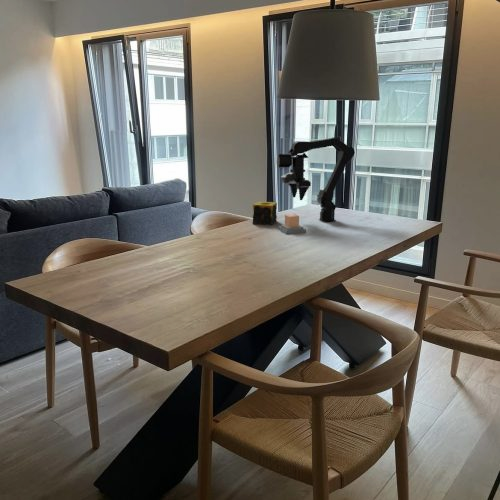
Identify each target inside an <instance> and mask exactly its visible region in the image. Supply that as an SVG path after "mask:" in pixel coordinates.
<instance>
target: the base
mask: <svg viewBox="0 0 500 500" xmlns="http://www.w3.org/2000/svg"><path fill="white" fill-rule="evenodd" d="M277 229H278V231H280V232H282V233H283V234H285V235H292V234H293V235H294V234H306V233H307V229H306V228H304V226H302V225H300V224H299V227H287V226H286V225H285V223H284V224H280V225H279V226H277Z"/></svg>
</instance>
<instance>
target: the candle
mask: <svg viewBox="0 0 500 500" xmlns="http://www.w3.org/2000/svg"><path fill="white" fill-rule="evenodd" d="M277 206H278V203H277V202H275V201H274V202H272V201H257V202H255V203H253V204H252V210H253V214H252V225H264V226H272V225H274V224H275V223H276V222H277V217H278V216H277V209H278V208H277Z"/></svg>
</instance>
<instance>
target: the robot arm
mask: <svg viewBox="0 0 500 500" xmlns="http://www.w3.org/2000/svg"><path fill="white" fill-rule="evenodd" d="M328 147H333V148H334V149H335V150H336V151H337V152H338V154H337V161H336V164H335V166H334V168H333V170H332V173H331V174H330V177H329V180H328V181H327V184H326V186H325V187H324V188H323V189H321V188H320V189H319V192H318V194H317V196H316V197H317V198H316V201H317V203H318V204H319V206H320V208H321V209H320V212H319V219H318V220H319V221H320V222H323V223H329V222H336V221H337V220H336V219H335V215H336V214H335V210H336V209H337V205H336V204H335V203H334V202H333V199H334V192H335V190H336V187H337V185H338V183H339V181H340V179H341V176H342V174H343V172H344V169H345V167H346V166H347V165H348V164H349V163H350V162H351V160H352V159H353V157H354V156H355V153H356V151H355V148H354V147H353V146H349V145H347V144H346V143H344V142H343V141H342V140H340V139H339V138H338V137H334V136H333V137H330V138H324V139H317V140H311V141H302V140H298V141H297V140H296V141H294V142H293V143H292V144H291V148H290V149H289V150H288V151H287V153H278V154H277V158H276V159H277V160H276V166H277V168H278V169H281V168H282V169H283V168H284V169H285V168H286V169H287V168H290V167H291V168H290V170H289V172H288V173H285V174H283V175H281V176H280V178H281V182H282V183H283V184H286V185H288V187H290V191H291V195H292V198H295V197H297V196H296V195H297V193H298V194H299V195H298V196H299V201H303V199H304V197H305V195H306V194H307V192H308V190H309V188H310V187H311V186H312V185H311V184H312V183H311V181H310V180H309V179H306V178H305V177H304V176H305V175H304V173H305V172H306V169H305V159H308V158H309V156H308V155H307V154H306V152H308V151H312V150H316V149H323V148H328Z"/></svg>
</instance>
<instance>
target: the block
mask: <svg viewBox="0 0 500 500" xmlns="http://www.w3.org/2000/svg"><path fill="white" fill-rule="evenodd" d="M284 224H285V225H286V226H287V227H299V225H300V215H298V214H295V213H292V214H291V213H290V214H284Z"/></svg>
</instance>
